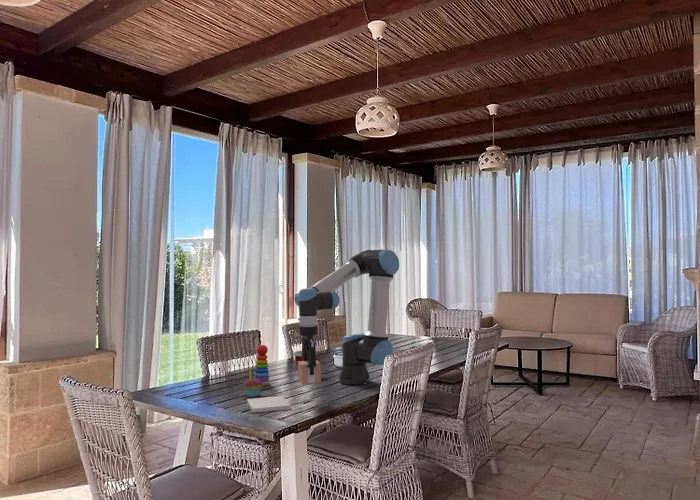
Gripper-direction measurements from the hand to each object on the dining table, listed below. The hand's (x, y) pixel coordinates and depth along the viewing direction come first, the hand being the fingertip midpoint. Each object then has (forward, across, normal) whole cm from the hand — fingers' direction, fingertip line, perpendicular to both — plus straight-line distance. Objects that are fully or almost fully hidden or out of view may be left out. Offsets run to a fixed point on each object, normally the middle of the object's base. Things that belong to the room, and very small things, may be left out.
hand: (308, 380), depth 218 cm
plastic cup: (+10, -51, +10) cm, 53 cm away
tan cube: (0, 0, 0) cm, 0 cm away
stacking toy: (+9, -38, -14) cm, 41 cm away
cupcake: (+9, -19, -21) cm, 29 cm away
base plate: (+9, 0, -17) cm, 19 cm away
